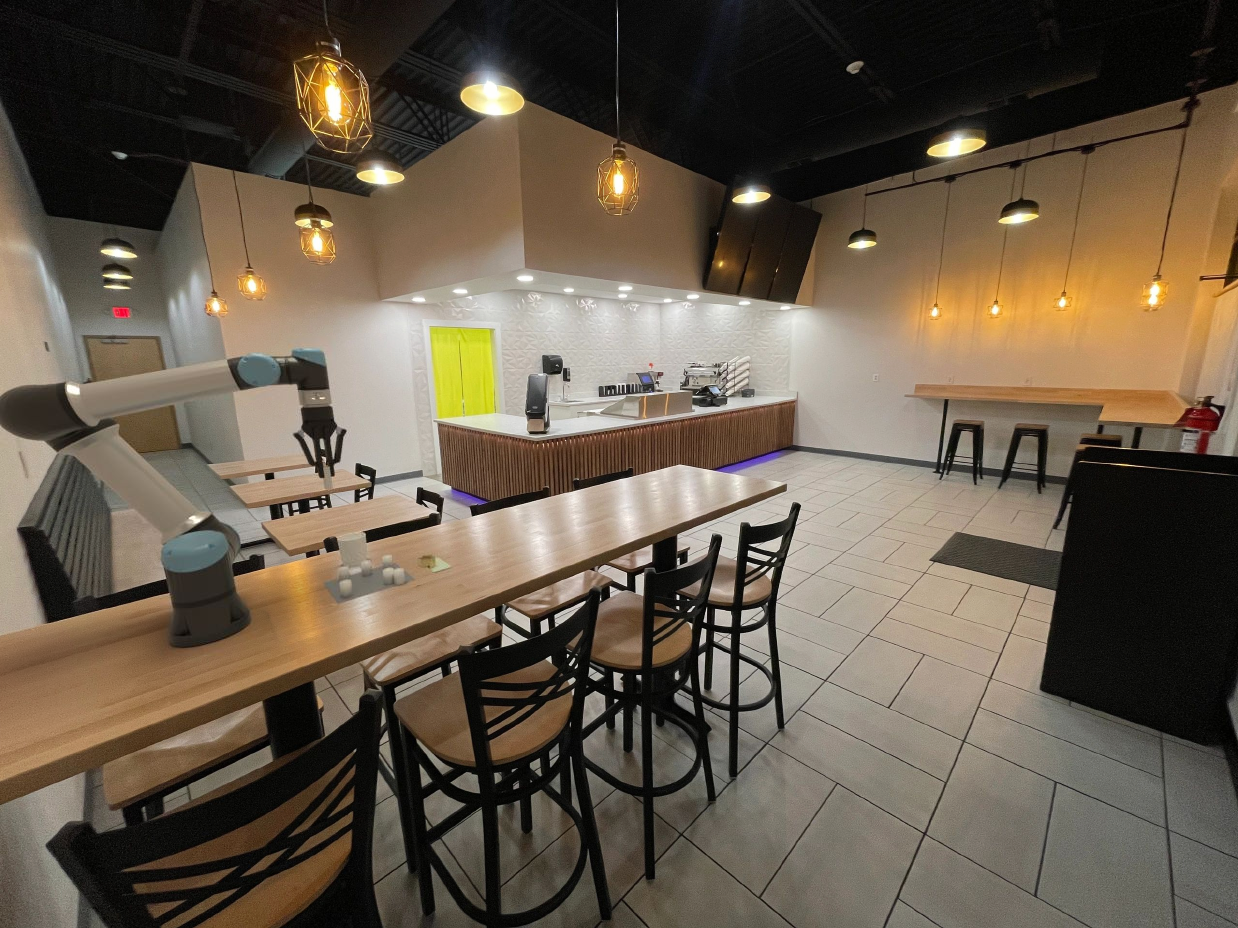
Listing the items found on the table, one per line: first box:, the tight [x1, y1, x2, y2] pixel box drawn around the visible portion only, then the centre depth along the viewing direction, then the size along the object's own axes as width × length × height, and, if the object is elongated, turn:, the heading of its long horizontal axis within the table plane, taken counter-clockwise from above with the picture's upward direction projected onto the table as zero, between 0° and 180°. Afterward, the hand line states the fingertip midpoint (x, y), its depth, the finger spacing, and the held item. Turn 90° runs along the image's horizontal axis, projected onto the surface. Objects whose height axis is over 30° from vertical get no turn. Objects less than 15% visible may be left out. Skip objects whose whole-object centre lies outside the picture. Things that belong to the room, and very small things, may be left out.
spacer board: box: [322, 554, 416, 604], centre depth 136 cm, size 20×18×5 cm
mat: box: [430, 557, 453, 574], centre depth 147 cm, size 12×11×1 cm
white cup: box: [336, 531, 368, 568], centre depth 150 cm, size 8×8×10 cm
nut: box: [417, 554, 436, 570], centre depth 148 cm, size 4×5×3 cm
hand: (328, 488), depth 134 cm, fingers closed
